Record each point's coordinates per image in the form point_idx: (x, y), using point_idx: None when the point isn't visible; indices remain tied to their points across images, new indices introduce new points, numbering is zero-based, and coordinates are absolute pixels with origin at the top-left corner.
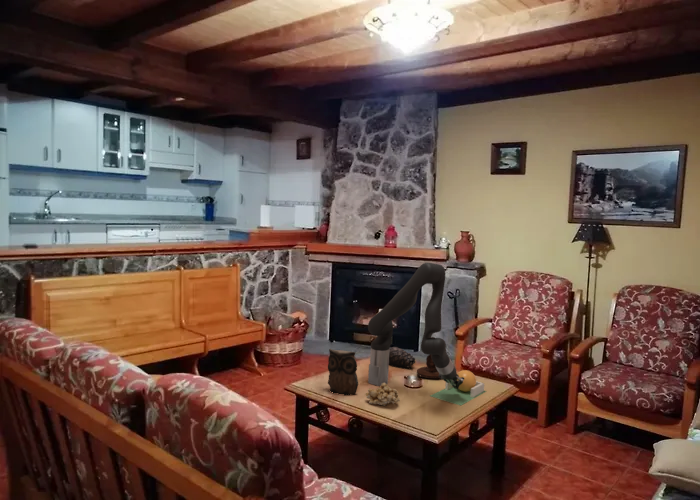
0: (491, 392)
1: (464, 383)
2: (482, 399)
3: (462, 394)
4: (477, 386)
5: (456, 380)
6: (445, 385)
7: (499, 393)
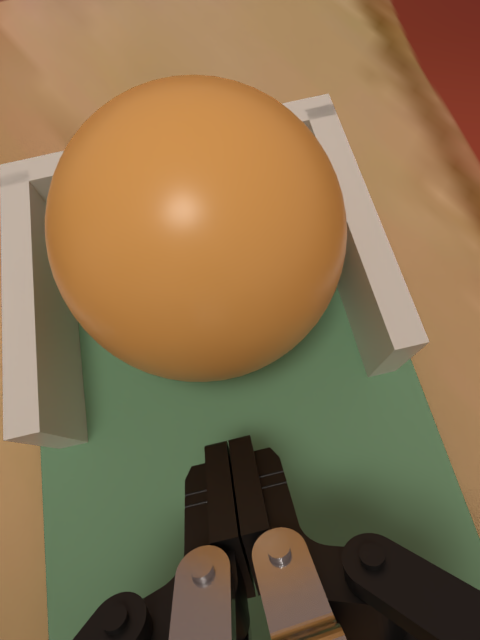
0: (351, 118)
1: (285, 347)
2: (455, 306)
3: (272, 396)
4: (373, 223)
5: (313, 604)
6: (34, 444)
7: (399, 85)
